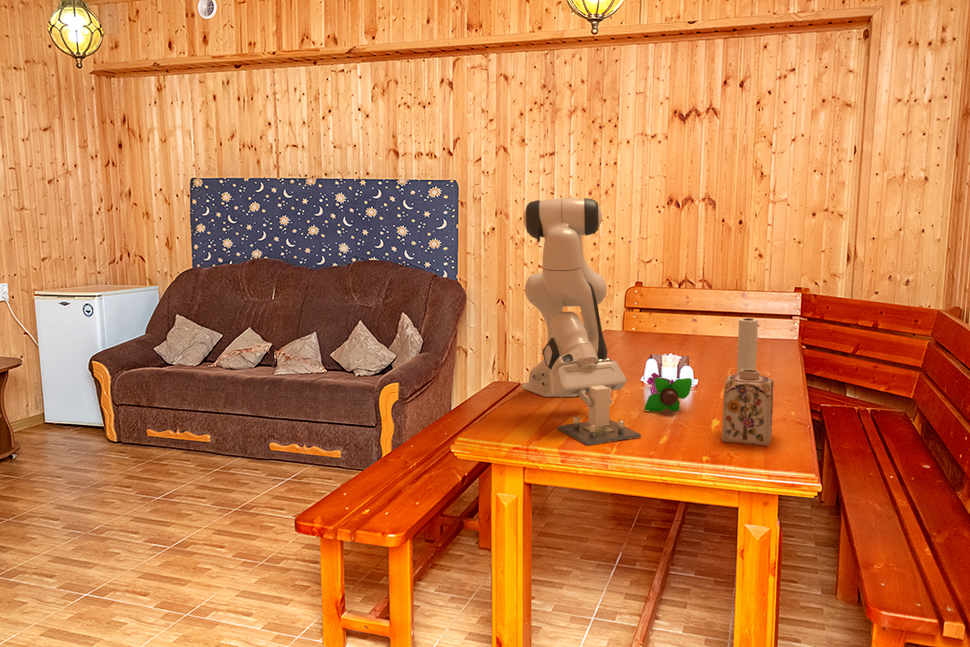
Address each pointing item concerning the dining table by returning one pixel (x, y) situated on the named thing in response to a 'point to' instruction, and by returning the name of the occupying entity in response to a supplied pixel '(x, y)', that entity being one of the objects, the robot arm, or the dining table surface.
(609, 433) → the grey square base plate
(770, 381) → the decorative jar
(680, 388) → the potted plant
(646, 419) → the dining table surface
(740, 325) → the tan cylinder
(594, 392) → the post
